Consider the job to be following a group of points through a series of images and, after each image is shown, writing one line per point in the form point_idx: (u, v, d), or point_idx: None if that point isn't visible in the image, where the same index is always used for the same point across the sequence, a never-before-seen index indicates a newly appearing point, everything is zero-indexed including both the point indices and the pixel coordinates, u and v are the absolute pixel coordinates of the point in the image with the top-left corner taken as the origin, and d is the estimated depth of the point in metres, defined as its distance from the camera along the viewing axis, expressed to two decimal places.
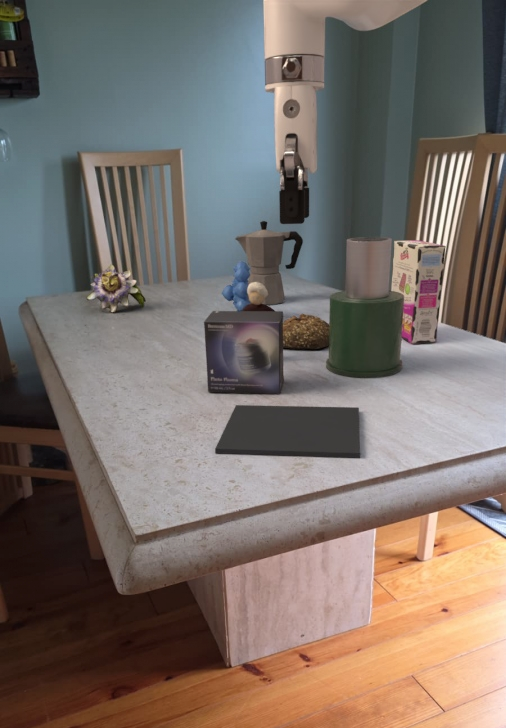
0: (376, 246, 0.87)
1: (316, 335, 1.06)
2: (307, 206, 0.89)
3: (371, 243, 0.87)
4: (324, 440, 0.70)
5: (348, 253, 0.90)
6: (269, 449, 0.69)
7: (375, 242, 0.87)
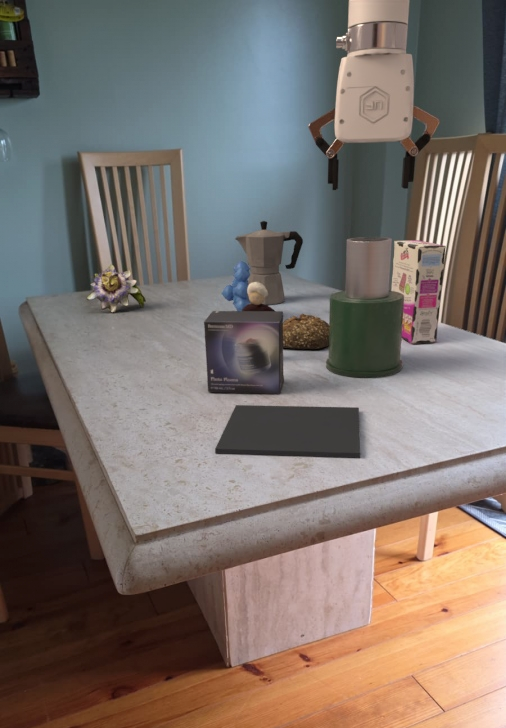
0: (376, 246, 0.87)
1: (316, 335, 1.06)
2: (404, 176, 0.85)
3: (371, 243, 0.87)
4: (324, 440, 0.70)
5: (348, 253, 0.90)
6: (269, 449, 0.69)
7: (375, 242, 0.87)
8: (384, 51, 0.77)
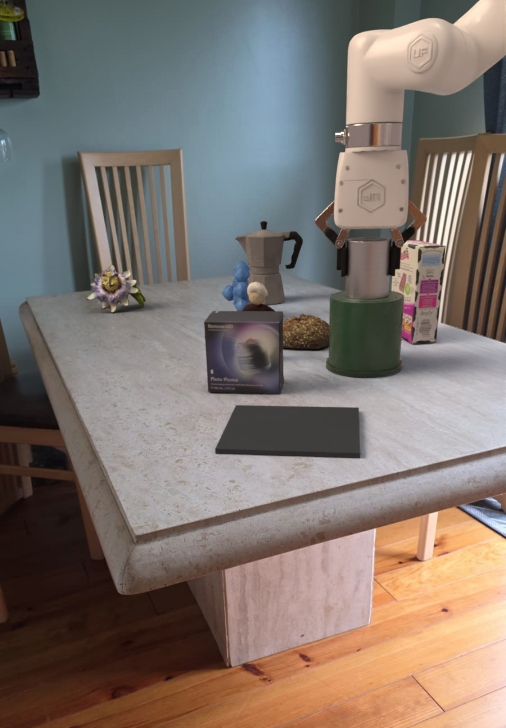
0: (376, 246, 0.87)
1: (316, 335, 1.06)
2: (391, 265, 0.90)
3: (371, 243, 0.87)
4: (324, 440, 0.70)
5: (348, 253, 0.90)
6: (269, 449, 0.69)
7: (375, 242, 0.87)
8: (380, 149, 0.82)
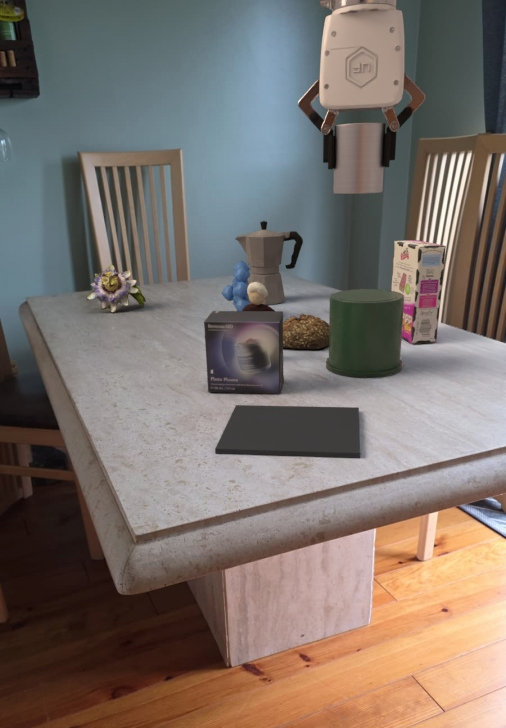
0: (367, 128, 0.76)
1: (316, 335, 1.06)
2: (384, 154, 0.79)
3: (361, 125, 0.76)
4: (324, 440, 0.70)
5: (336, 140, 0.79)
6: (269, 449, 0.69)
7: (366, 124, 0.76)
8: (371, 7, 0.71)
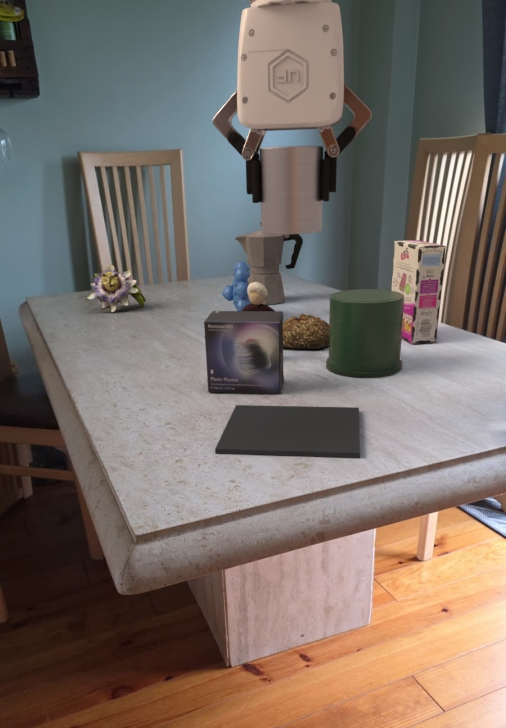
0: (298, 154, 0.60)
1: (316, 335, 1.06)
2: (322, 185, 0.62)
3: (291, 149, 0.60)
4: (324, 440, 0.70)
5: (261, 167, 0.62)
6: (269, 449, 0.69)
7: (296, 147, 0.60)
8: None
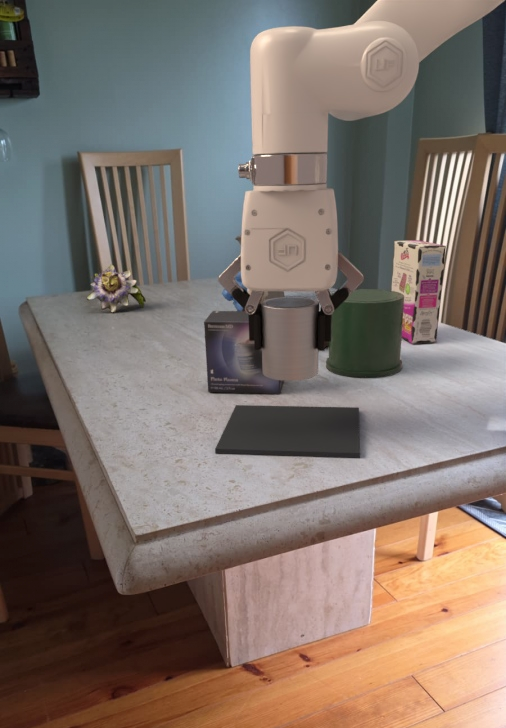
0: (296, 314, 0.66)
1: None
2: (318, 337, 0.68)
3: (289, 310, 0.66)
4: (324, 440, 0.70)
5: (262, 321, 0.68)
6: (269, 449, 0.69)
7: (295, 309, 0.66)
8: (295, 189, 0.60)
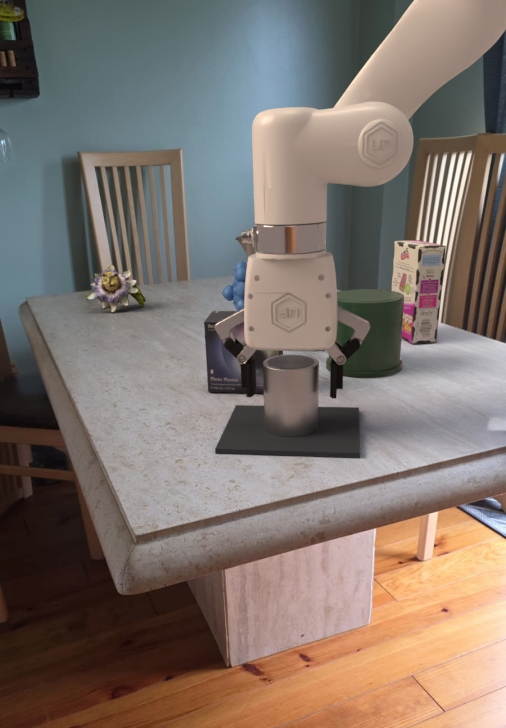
0: (297, 375, 0.69)
1: None
2: (330, 385, 0.70)
3: (290, 372, 0.69)
4: (324, 440, 0.70)
5: (264, 379, 0.71)
6: (269, 449, 0.69)
7: (295, 371, 0.68)
8: (296, 257, 0.63)
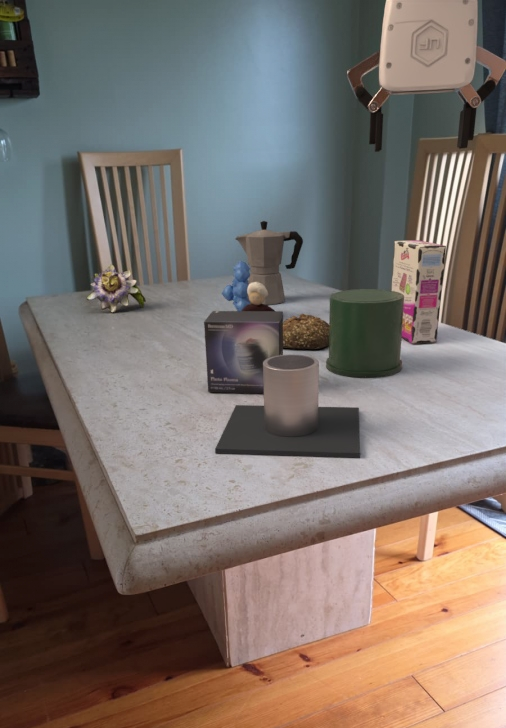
0: (297, 375, 0.69)
1: (316, 335, 1.06)
2: (462, 133, 0.70)
3: (290, 372, 0.69)
4: (324, 440, 0.70)
5: (264, 379, 0.71)
6: (269, 449, 0.69)
7: (295, 371, 0.68)
8: None
